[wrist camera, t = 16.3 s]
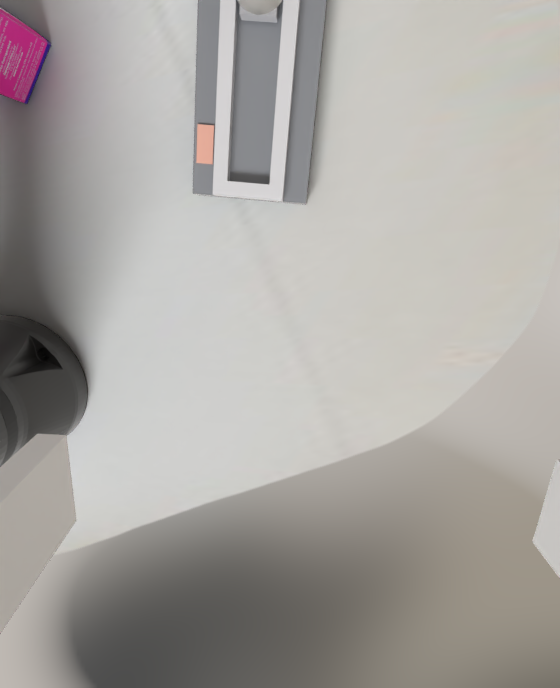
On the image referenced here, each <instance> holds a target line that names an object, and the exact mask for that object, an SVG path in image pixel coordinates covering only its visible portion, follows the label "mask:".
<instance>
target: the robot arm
mask: <svg viewBox="0 0 560 688" xmlns="http://www.w3.org/2000/svg"><path fill="white" fill-rule="evenodd" d="M86 403H87V385H86V380H85V376H84V373H83V370H82V367H81V365H80V363H79V361H78V359H77V358H76V356H75V354H74V353H73V352H72V350H71V349H70V348H69V346H68V345H67V344H66V343H65V342H64V341H63V340H62V339H61V338H60V337H59V336H58V335H56V334H55V333H54V332H52V331H51V330H50V329H48V328H46V327H45V326H43V325H41V324H39V323H37V322H35V321H32V320H29V319H26V318H22V317H17V316H0V634H1V632H2V631H3V629H4V628H5V626H6V624H7V623H8V622H9V620H10V619H11V617H12V616H13V614H14V613H15V611H16V610H17V608H18V607H19V605H20V604H21V602H22V600H23V599H24V598H25V596H26V595H27V593H28V592H29V590H30V589H31V587H32V586H33V584H34V583H35V581H36V580H37V578H38V577H39V575H40V574H41V572H42V571H43V570H44V568H45V566H46V565H47V564H48V562H49V561H50V559H51V558H52V556H53V555H54V553H55V552H56V550H57V549H58V547H59V546H60V544H61V543H62V541H63V540H64V538H65V537H66V535H67V534H68V532H69V531H70V529H71V528H72V526H73V525H74V523H75V522H76V513H75V505H74V496H73V488H72V479H71V471H70V462H69V454H68V445H67V437H66V436H67V435H68V434H70V433H71V432H72V431H73V430H74V429H75V428H76V426H77V425H78V424H79V422H80V420H81V419H82V416H83V414H84V411H85V408H86ZM533 543H534V545H535V546H536V547H537V549H538V550H539V551H540V553H541V554H542V555H543V557H544V558H545V559H546V561H547V562H548V563H549V564H550V566H551V567H552V568H553V570H554V571H555V572H556V574H557V575H558V576H559V578H560V459H557V460H556V463H555V466H554V470H553V473H552V477H551V480H550V484H549V487H548V491H547V494H546V497H545V501H544V504H543V508H542V511H541V514H540V518H539V521H538V525H537V529H536V532H535V535H534V538H533Z"/></svg>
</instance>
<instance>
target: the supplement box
mask: <svg viewBox="0 0 560 688" xmlns="http://www.w3.org/2000/svg"><path fill="white" fill-rule="evenodd" d="M50 47H51V43H50V42H49V41H48V40H47V39H45V38H44V37H43V36H41V35H40V34H39V33H37V32H36V31H34V30H33V29H32V28H30V27H29V26H27V25H26V24H24V23H23V22H22V21H20V20H19V19H17V18H16V17H14V16H13V15H11V14H10V13H8V12H7V11H5V10H4V9H2V8H1V7H0V94H1V95H4V96H6V97H9V98H12V99H14V100H17V101H20V102H22V103H25V104H27V103H28V100H29V98H30V95H31V93H32V90H33V88H34V85H35V83H36V80H37V78H38V75H39V73H40V70H41V68H42V65H43V63H44V60H45V58H46V56H47V53H48V51H49V49H50Z"/></svg>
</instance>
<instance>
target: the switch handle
mask: <svg viewBox="0 0 560 688" xmlns="http://www.w3.org/2000/svg"><path fill="white" fill-rule="evenodd" d="M237 1H238V3H239V4H240V11H239V14H240V17H241V20H245V21H259V22H273V23H277V22H278V8H279V4H280V3H281V1H282V0H237Z"/></svg>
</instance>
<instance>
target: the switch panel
mask: <svg viewBox="0 0 560 688" xmlns="http://www.w3.org/2000/svg"><path fill="white" fill-rule="evenodd" d="M326 4H327V0H282V1H281V3H280V4H279V8H278V22H277V23H273V22H259V21H245V20H241V17H240V14H239V11H240V4H239V3H238V1H237V0H198V17H197V54H196V91H195V128H194V165H193V194H197V195H205V196H216V197H227V198H238V199H249V200H261V201H272V202H283V203H294V204H305V205H306V202H307V192H308V182H309V172H310V162H311V152H312V142H313V132H314V122H315V112H316V103H317V93H318V83H319V73H320V63H321V53H322V43H323V33H324V23H325V14H326Z"/></svg>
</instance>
